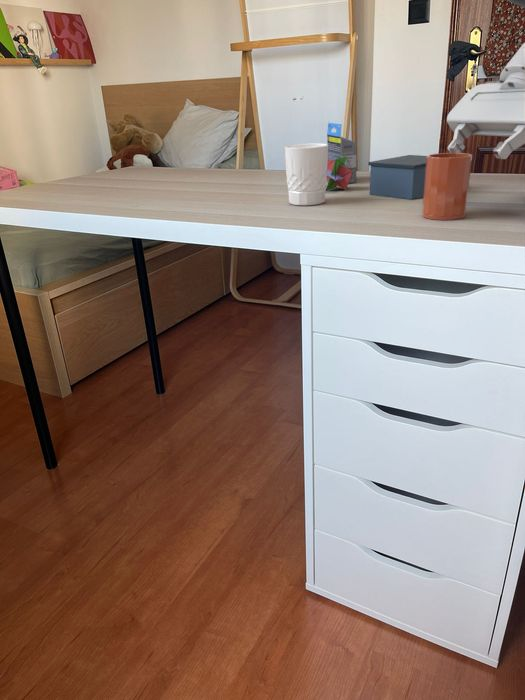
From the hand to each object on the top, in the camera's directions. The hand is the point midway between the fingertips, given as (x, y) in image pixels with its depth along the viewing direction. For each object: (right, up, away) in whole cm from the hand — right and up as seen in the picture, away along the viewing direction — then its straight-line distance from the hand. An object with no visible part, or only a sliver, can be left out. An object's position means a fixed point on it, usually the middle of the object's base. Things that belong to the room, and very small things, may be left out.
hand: (474, 154), depth 80 cm
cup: (-4, -9, +3) cm, 10 cm away
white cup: (-24, -2, +19) cm, 31 cm away
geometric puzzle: (-17, +3, +30) cm, 34 cm away
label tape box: (-14, +8, +39) cm, 43 cm away
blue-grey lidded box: (-3, +1, +23) cm, 23 cm away
